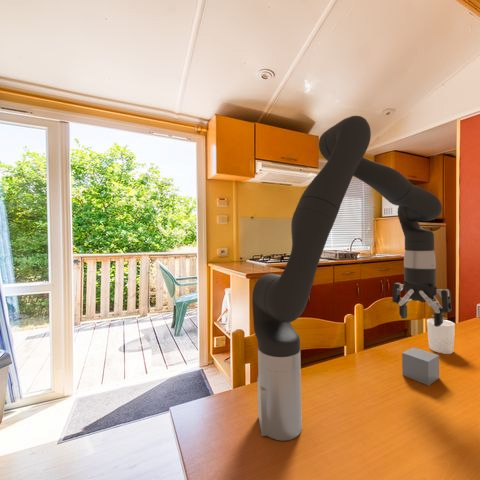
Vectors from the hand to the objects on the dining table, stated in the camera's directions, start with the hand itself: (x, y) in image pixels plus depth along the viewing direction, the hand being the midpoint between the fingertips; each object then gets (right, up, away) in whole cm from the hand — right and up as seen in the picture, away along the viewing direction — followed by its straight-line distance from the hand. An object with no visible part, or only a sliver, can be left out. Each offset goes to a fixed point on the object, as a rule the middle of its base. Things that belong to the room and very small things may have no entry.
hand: (420, 321), depth 75 cm
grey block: (0, -16, 0) cm, 16 cm away
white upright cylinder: (+19, -16, +17) cm, 30 cm away
